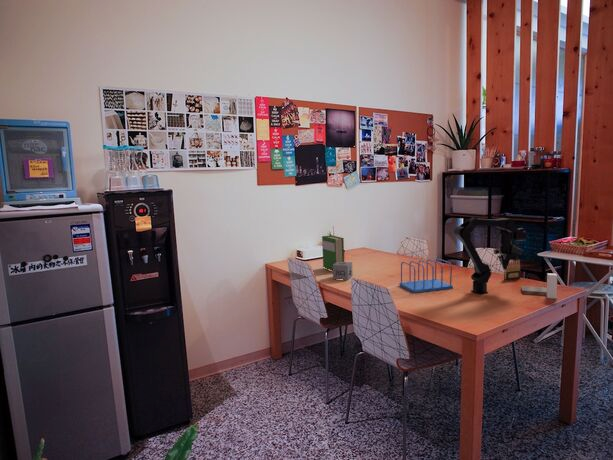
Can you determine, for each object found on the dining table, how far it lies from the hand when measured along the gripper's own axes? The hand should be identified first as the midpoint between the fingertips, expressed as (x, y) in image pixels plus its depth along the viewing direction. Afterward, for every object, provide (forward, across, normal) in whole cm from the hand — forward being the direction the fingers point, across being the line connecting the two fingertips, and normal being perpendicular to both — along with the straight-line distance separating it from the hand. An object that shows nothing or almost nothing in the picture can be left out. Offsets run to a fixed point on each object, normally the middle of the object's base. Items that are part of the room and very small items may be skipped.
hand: (504, 269), depth 222 cm
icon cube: (+13, +32, +90) cm, 96 cm away
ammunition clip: (+12, +25, -14) cm, 31 cm away
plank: (+12, -5, -16) cm, 20 cm away
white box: (+11, -9, -20) cm, 25 cm away
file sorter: (+13, +9, +41) cm, 44 cm away
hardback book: (+13, +57, +97) cm, 113 cm away
